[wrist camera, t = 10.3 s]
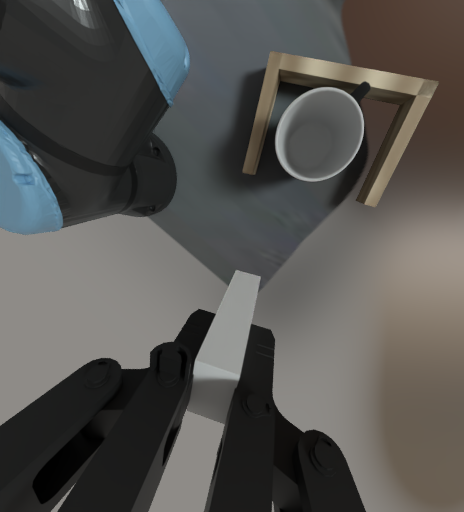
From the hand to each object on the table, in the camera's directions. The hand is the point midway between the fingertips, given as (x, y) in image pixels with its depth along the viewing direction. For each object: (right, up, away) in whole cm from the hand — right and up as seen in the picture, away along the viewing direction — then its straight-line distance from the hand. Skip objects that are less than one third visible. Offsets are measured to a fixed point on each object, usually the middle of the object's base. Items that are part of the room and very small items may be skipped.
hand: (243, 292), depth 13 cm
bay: (+12, +19, +18) cm, 29 cm away
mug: (+12, +19, +18) cm, 29 cm away
